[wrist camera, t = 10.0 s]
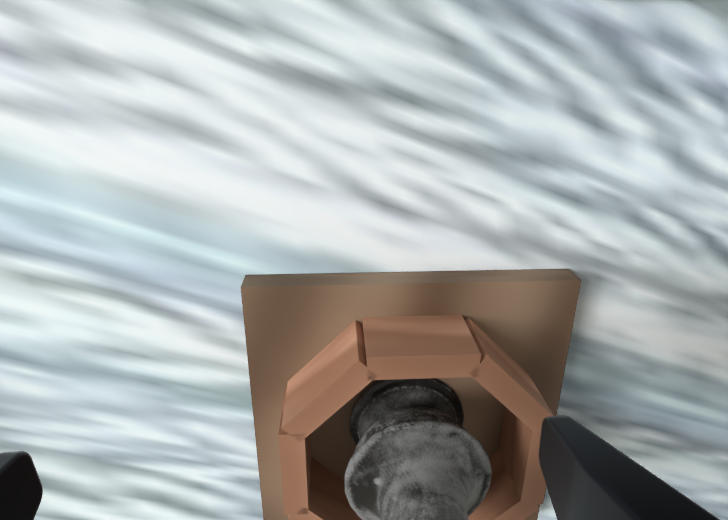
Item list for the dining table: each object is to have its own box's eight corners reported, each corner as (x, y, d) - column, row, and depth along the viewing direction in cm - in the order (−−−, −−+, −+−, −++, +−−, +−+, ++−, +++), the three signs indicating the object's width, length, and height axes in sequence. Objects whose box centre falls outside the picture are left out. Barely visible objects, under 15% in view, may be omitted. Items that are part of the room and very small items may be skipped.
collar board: (568, 268, 22) (618, 314, 18) (528, 505, 27) (559, 580, 24) (245, 275, 21) (226, 324, 18) (268, 517, 27) (256, 595, 23)
